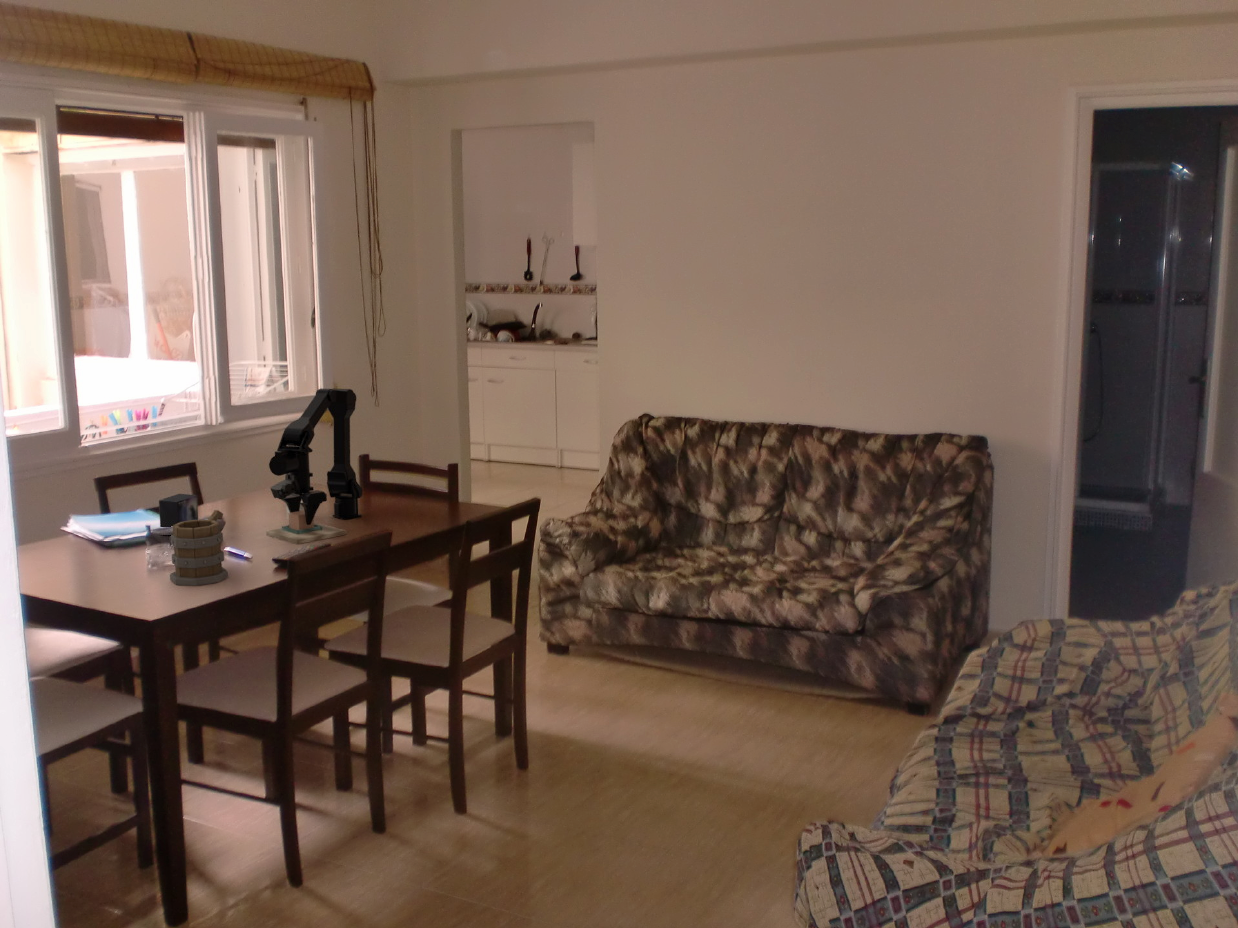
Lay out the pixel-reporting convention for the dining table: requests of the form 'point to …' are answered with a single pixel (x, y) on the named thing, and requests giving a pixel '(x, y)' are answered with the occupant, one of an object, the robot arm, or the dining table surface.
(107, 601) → the dining table surface
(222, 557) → the tankard
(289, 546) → the dining table surface
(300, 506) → the cream block
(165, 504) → the small box
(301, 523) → the terracotta block
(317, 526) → the base plate
